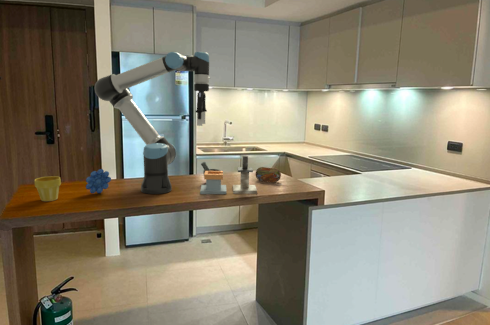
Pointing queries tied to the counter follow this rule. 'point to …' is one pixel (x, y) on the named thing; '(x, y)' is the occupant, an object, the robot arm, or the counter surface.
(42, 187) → the plant pot
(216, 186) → the block
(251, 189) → the post stand
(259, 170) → the tin
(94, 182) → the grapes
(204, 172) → the mortar and pestle
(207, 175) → the link
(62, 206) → the counter surface
